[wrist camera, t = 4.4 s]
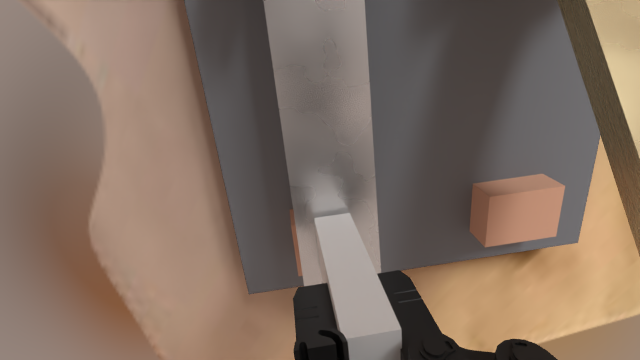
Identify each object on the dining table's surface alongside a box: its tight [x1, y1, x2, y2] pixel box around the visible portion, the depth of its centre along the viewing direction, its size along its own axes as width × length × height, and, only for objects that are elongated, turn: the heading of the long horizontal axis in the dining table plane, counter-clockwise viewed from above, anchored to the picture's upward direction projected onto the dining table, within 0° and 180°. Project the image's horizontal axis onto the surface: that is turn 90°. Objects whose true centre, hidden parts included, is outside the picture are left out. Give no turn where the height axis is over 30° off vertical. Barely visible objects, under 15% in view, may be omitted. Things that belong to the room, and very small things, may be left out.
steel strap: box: [263, 0, 381, 286], centre depth 15 cm, size 16×4×2 cm, turn 6°
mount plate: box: [184, 0, 600, 294], centre depth 17 cm, size 20×20×6 cm
